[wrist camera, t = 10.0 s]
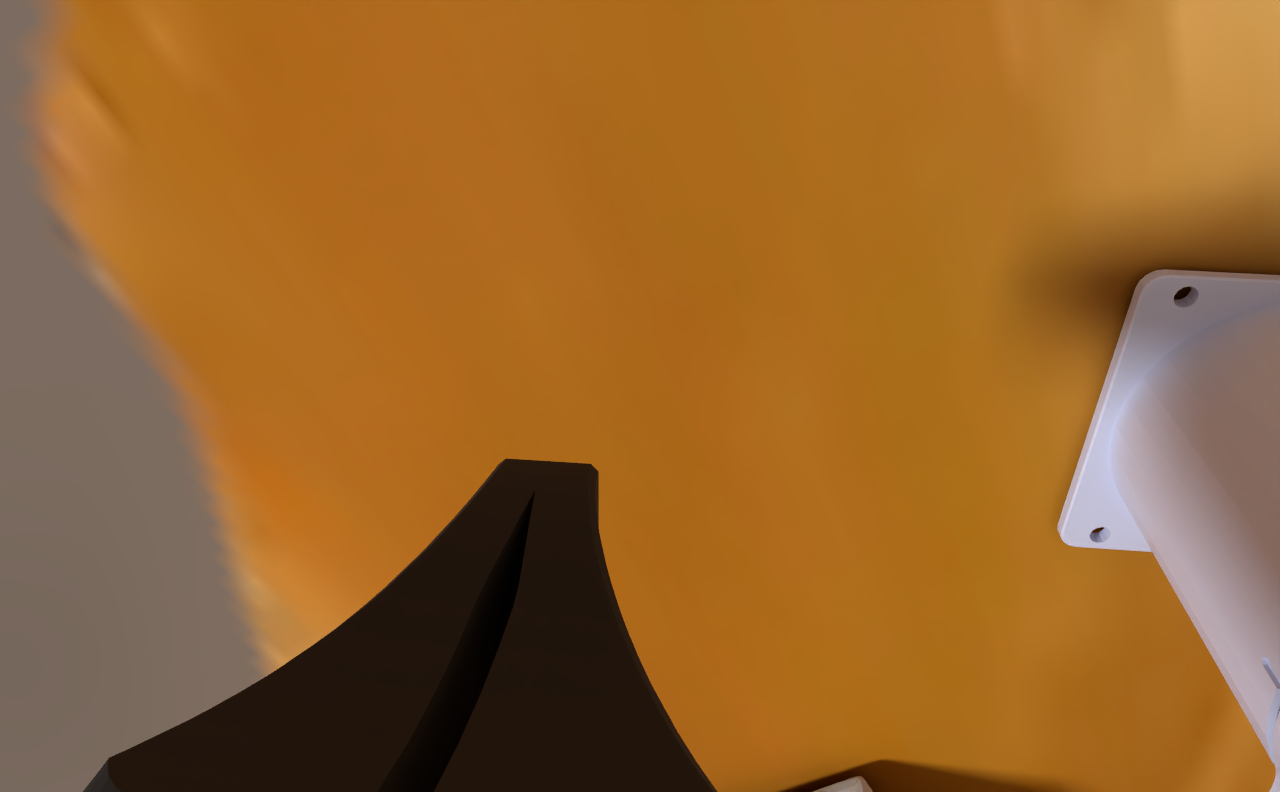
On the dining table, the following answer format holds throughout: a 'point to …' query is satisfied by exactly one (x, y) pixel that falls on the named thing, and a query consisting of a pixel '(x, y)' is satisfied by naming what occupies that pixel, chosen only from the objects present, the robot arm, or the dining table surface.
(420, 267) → the dining table surface
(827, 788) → the coffee box
